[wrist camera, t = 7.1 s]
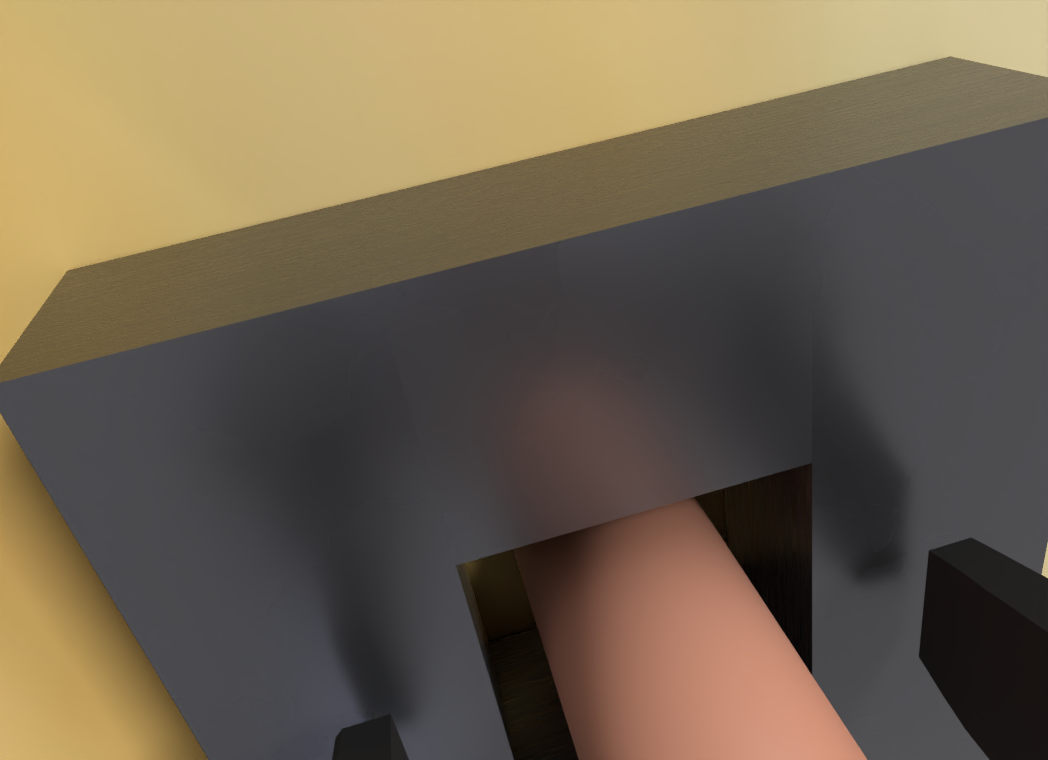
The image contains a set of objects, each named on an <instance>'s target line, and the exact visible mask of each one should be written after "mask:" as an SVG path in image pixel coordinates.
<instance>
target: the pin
mask: <svg viewBox="0 0 1048 760" xmlns="http://www.w3.org/2000/svg"><path fill="white" fill-rule="evenodd" d="M513 551H514V554H515V557H516V560H517V563H518V567H519V570H520V573H521V576H522V579H523V583H524V586H525V589H526V592H527V595H528V599H529V602H530V605H531V608H532V611H533V615H534V618H535V621H536V624H537V627H538V631H539V634H540V637H541V640H542V643H543V647H544V650H545V653H546V656H547V659H548V663H549V666H550V669H551V672H552V675H553V679H554V682H555V685H556V688H557V692H558V695H559V698H560V701H561V704H562V708H563V711H564V714H565V717H566V720H567V724H568V727H569V730H570V733H571V736H572V740H573V743H574V746H575V749H576V752H577V756H578V759H579V760H867V758H866V757H865V755H864V754H863V752H862V751H861V749H860V748H859V746H858V745H857V743H856V742H855V740H854V739H853V737H852V736H851V734H850V732H849V731H848V729H847V728H846V726H845V725H844V723H843V722H842V720H841V719H840V717H839V716H838V714H837V713H836V711H835V710H834V708H833V707H832V705H831V704H830V702H829V700H828V699H827V697H826V696H825V694H824V693H823V691H822V690H821V688H820V687H819V685H818V684H817V682H816V681H815V679H814V678H813V676H812V675H811V673H810V672H809V670H808V668H807V667H806V665H805V664H804V662H803V661H802V659H801V658H800V656H799V655H798V653H797V652H796V650H795V649H794V647H793V646H792V644H791V643H790V641H789V640H788V638H787V636H786V635H785V633H784V632H783V630H782V629H781V627H780V626H779V624H778V623H777V621H776V620H775V618H774V617H773V615H772V614H771V612H770V611H769V609H768V607H767V606H766V604H765V603H764V601H763V600H762V598H761V597H760V595H759V594H758V592H757V591H756V589H755V588H754V586H753V585H752V583H751V582H750V580H749V579H748V577H747V575H746V574H745V572H744V571H743V569H742V568H741V566H740V565H739V563H738V562H737V560H736V559H735V557H734V556H733V554H732V553H731V551H730V550H729V548H728V547H727V545H726V543H725V542H724V540H723V539H722V537H721V536H720V534H719V533H718V531H717V530H716V528H715V527H714V525H713V524H712V522H711V521H710V519H709V518H708V516H707V515H706V513H705V511H704V510H703V508H702V507H701V505H700V504H699V502H698V501H697V499H696V498H695V497H692V498H688V499H685V500H682V501H678V502H675V503H671V504H668V505H664V506H661V507H657V508H654V509H650V510H647V511H643V512H640V513H636V514H633V515H630V516H626V517H623V518H619V519H616V520H612V521H609V522H605V523H602V524H598V525H595V526H591V527H588V528H585V529H581V530H578V531H574V532H571V533H567V534H564V535H560V536H557V537H553V538H550V539H546V540H543V541H539V542H536V543H533V544H529V545H526V546H522V547H519V548H515V549H513Z"/></svg>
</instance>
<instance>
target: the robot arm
mask: <svg viewBox="0 0 1048 760" xmlns="http://www.w3.org/2000/svg"><path fill="white" fill-rule="evenodd" d="M919 658H920V660H921V661H922V663H923V664H924V666H925V668H926V669H927V671H928V672H929V674H930V676H931V677H932V679H933V681H934V682H935V684H936V685H937V687H938V689H939V690H940V692H941V693H942V695H943V697H944V698H945V700H946V701H947V703H948V704H949V706H950V707H951V709H952V710H953V712H954V713H955V715H956V716H957V718H958V719H959V721H960V722H961V724H962V725H963V727H964V728H965V730H966V731H967V732H968V733H969V735H970V736H971V737H972V738H973V740H974V741H975V742H976V744H977V745H978V746H979V747H980V749H981V750H982V751H983V752H984V754H985V755H986V756H987V757H988V758H989V760H1048V578H1046V577H1044V576H1042V575H1041V574H1039V573H1037V572H1035V571H1033V570H1031V569H1030V568H1028V567H1026V566H1024V565H1022V564H1020V563H1019V562H1017V561H1015V560H1013V559H1011V558H1009V557H1008V556H1006V555H1004V554H1002V553H1000V552H998V551H996V550H994V549H993V548H991V547H989V546H987V545H985V544H983V543H981V542H979V541H977V540H975V539H973V538H968V539H964V540H961V541H958V542H955V543H951V544H948V545H945V546H941V547H938V548H935V549H932V550H929V553H928V564H927V574H926V585H925V595H924V606H923V616H922V627H921V637H920V648H919ZM332 760H409V758H408V756H407V753H406V751H405V748H404V746H403V743H402V741H401V738H400V736H399V733H398V731H397V728H396V726H395V723H394V721H393V718H392V716H391V714H389V715H385V716H382V717H379V718H375V719H372V720H369V721H366V722H362V723H359V724H356V725H352V726H349V727H346V728H342V729H341V731H340V732H339V734H338V735H337V736H336V738H335V744H334V750H333V756H332Z"/></svg>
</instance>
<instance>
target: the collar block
mask: <svg viewBox="0 0 1048 760" xmlns="http://www.w3.org/2000/svg"><path fill="white" fill-rule="evenodd" d="M0 413H1V415H2V416H3V418H4V420H5V421H6V423H7V425H8V426H9V428H10V430H11V431H12V433H13V435H14V436H15V438H16V440H17V441H18V443H19V445H20V446H21V448H22V450H23V451H24V453H25V455H26V456H27V458H28V460H29V461H30V463H31V465H32V466H33V468H34V470H35V471H36V473H37V475H38V476H39V478H40V480H41V481H42V483H43V485H44V486H45V488H46V490H47V491H48V493H49V495H50V496H51V498H52V500H53V501H54V503H55V505H56V506H57V508H58V510H59V511H60V513H61V515H62V516H63V518H64V520H65V521H66V523H67V525H68V526H69V528H70V530H71V531H72V533H73V535H74V536H75V538H76V540H77V541H78V543H79V544H80V546H81V548H82V549H83V551H84V553H85V554H86V556H87V558H88V559H89V561H90V563H91V564H92V566H93V568H94V569H95V571H96V573H97V574H98V576H99V578H100V579H101V581H102V583H103V584H104V586H105V588H106V589H107V591H108V593H109V594H110V596H111V598H112V599H113V601H114V603H115V604H116V606H117V608H118V609H119V611H120V613H121V614H122V616H123V618H124V619H125V621H126V623H127V624H128V626H129V628H130V629H131V631H132V633H133V634H134V636H135V638H136V639H137V641H138V643H139V644H140V646H141V648H142V649H143V651H144V653H145V654H146V656H147V658H148V659H149V661H150V663H151V664H152V666H153V668H154V669H155V671H156V673H157V674H158V676H159V678H160V679H161V681H162V683H163V684H164V686H165V688H166V689H167V691H168V693H169V694H170V696H171V698H172V699H173V701H174V703H175V704H176V706H177V708H178V709H179V711H180V713H181V714H182V716H183V718H184V719H185V721H186V723H187V724H188V726H189V728H190V729H191V731H192V732H193V734H194V736H195V737H196V739H197V741H198V742H199V744H200V746H201V747H202V749H203V751H204V752H205V754H206V756H207V757H208V759H209V760H332V756H333V750H334V744H335V738H336V736H337V735H338V734H339V732H340V731H341V729H342V728H346V727H349V726H352V725H356V724H359V723H362V722H366V721H369V720H372V719H375V718H379V717H382V716H385V715H389V714H391V716H392V718H393V721H394V723H395V726H396V728H397V731H398V733H399V736H400V738H401V741H402V743H403V746H404V748H405V751H406V753H407V756H408V758H409V760H579V759H578V756H577V752H576V749H575V746H574V743H573V740H572V736H571V733H570V730H569V727H568V724H567V720H566V717H565V714H564V711H563V708H562V704H561V701H560V698H559V695H558V692H557V688H556V685H555V682H554V679H553V675H552V672H551V669H550V666H549V663H548V659H547V656H546V653H545V650H544V647H543V643H542V640H541V637H540V634H539V631H538V628H535V629H532V630H528V631H525V632H521V633H518V634H515V635H511V636H508V637H505V638H501V639H498V640H495V641H491V642H488V640H487V637H486V633H485V630H484V627H483V623H482V620H481V616H480V613H479V609H478V606H477V602H476V599H475V596H474V592H473V589H472V585H471V582H470V578H469V575H468V571H467V568H466V564H465V563H467V562H470V561H474V560H477V559H481V558H484V557H488V556H491V555H494V554H498V553H501V552H505V551H508V550H512V549H515V548H519V547H522V546H526V545H529V544H533V543H536V542H539V541H543V540H546V539H550V538H553V537H557V536H560V535H564V534H567V533H571V532H574V531H578V530H581V529H585V528H588V527H591V526H595V525H598V524H602V523H605V522H609V521H612V520H616V519H619V518H623V517H626V516H630V515H633V514H636V513H640V512H643V511H647V510H650V509H654V508H657V507H661V506H664V505H668V504H671V503H675V502H678V501H682V500H685V499H688V498H692V497H695V496H699V495H702V494H706V493H709V492H713V491H716V490H720V489H723V488H724V500H725V514H726V528H727V543H728V548H729V550H730V551H731V553H732V554H733V556H734V557H735V559H736V560H737V562H738V563H739V565H740V566H741V568H742V569H743V571H744V572H745V574H746V575H747V577H748V579H749V580H750V582H751V583H752V585H753V586H754V588H755V589H756V591H757V592H758V594H759V595H760V597H761V598H762V600H763V601H764V603H765V604H766V606H767V607H768V609H769V611H770V612H771V614H772V615H773V617H774V618H775V620H776V621H777V623H778V624H779V626H780V627H781V629H782V630H783V632H784V633H785V635H786V636H787V638H788V640H789V641H790V643H791V644H792V646H793V647H794V649H795V650H796V652H797V653H798V655H799V656H800V658H801V659H802V661H803V662H804V664H805V665H806V667H807V668H808V670H809V672H810V673H811V675H812V676H813V678H814V679H815V681H816V682H817V684H818V685H819V687H820V688H821V690H822V691H823V693H824V694H825V696H826V697H827V699H828V700H829V702H830V704H831V705H832V707H833V708H834V710H835V711H836V713H837V714H838V716H839V717H840V719H841V720H842V722H843V723H844V725H845V726H846V728H847V729H848V731H849V732H850V734H851V736H852V737H853V739H854V740H855V742H856V743H857V745H858V746H859V748H860V749H861V751H862V752H863V754H864V755H865V757H866V758H867V760H989V758H988V757H987V756H986V755H985V754H984V752H983V751H982V750H981V749H980V747H979V746H978V745H977V744H976V742H975V741H974V740H973V738H972V737H971V736H970V735H969V733H968V732H967V731H966V730H965V728H964V727H963V725H962V724H961V722H960V721H959V719H958V718H957V716H956V715H955V713H954V712H953V710H952V709H951V707H950V706H949V704H948V703H947V701H946V700H945V698H944V697H943V695H942V693H941V692H940V690H939V689H938V687H937V685H936V684H935V682H934V681H933V679H932V677H931V676H930V674H929V672H928V671H927V669H926V668H925V666H924V664H923V663H922V661H921V660H920V658H919V648H920V637H921V627H922V616H923V606H924V595H925V585H926V574H927V564H928V553H929V550H932V549H935V548H938V547H941V546H945V545H948V544H951V543H955V542H958V541H961V540H964V539H968V538H973V539H975V540H977V541H979V542H981V543H983V544H985V545H987V546H989V547H991V548H993V549H994V550H996V551H998V552H1000V553H1002V554H1004V555H1006V556H1008V557H1009V558H1011V559H1013V560H1015V561H1017V562H1019V563H1020V564H1022V565H1024V566H1026V567H1028V568H1030V569H1031V570H1033V571H1035V572H1037V573H1039V574H1041V573H1042V568H1043V563H1044V558H1045V553H1046V547H1047V542H1048V77H1043V76H1039V75H1034V74H1029V73H1025V72H1020V71H1015V70H1011V69H1006V68H1001V67H997V66H992V65H987V64H983V63H978V62H973V61H969V60H964V59H959V58H955V57H947V58H943V59H939V60H935V61H931V62H927V63H922V64H918V65H914V66H910V67H906V68H902V69H898V70H894V71H889V72H885V73H881V74H877V75H873V76H869V77H865V78H861V79H856V80H852V81H848V82H844V83H840V84H836V85H832V86H828V87H823V88H819V89H815V90H811V91H807V92H803V93H799V94H795V95H790V96H786V97H782V98H778V99H774V100H770V101H766V102H762V103H757V104H753V105H749V106H745V107H741V108H737V109H733V110H729V111H724V112H720V113H716V114H712V115H708V116H704V117H700V118H696V119H691V120H687V121H683V122H679V123H675V124H671V125H667V126H663V127H658V128H654V129H650V130H646V131H642V132H638V133H634V134H630V135H625V136H621V137H617V138H613V139H609V140H605V141H601V142H597V143H592V144H588V145H584V146H580V147H576V148H572V149H568V150H564V151H559V152H555V153H551V154H547V155H543V156H539V157H535V158H531V159H526V160H522V161H518V162H514V163H510V164H506V165H502V166H498V167H493V168H489V169H485V170H481V171H477V172H473V173H469V174H465V175H460V176H456V177H452V178H448V179H444V180H440V181H436V182H432V183H427V184H423V185H419V186H415V187H411V188H407V189H403V190H399V191H395V192H390V193H386V194H382V195H378V196H374V197H370V198H366V199H362V200H357V201H353V202H349V203H345V204H341V205H337V206H333V207H329V208H324V209H320V210H316V211H312V212H308V213H304V214H300V215H296V216H291V217H287V218H283V219H279V220H275V221H271V222H267V223H263V224H258V225H254V226H250V227H246V228H242V229H238V230H234V231H230V232H225V233H221V234H217V235H213V236H209V237H205V238H201V239H197V240H192V241H188V242H184V243H180V244H176V245H172V246H168V247H164V248H159V249H155V250H151V251H147V252H143V253H139V254H135V255H131V256H126V257H122V258H118V259H114V260H110V261H106V262H102V263H98V264H93V265H89V266H85V267H81V268H77V269H73V270H69V271H67V272H66V273H65V275H64V276H63V278H62V279H61V280H60V282H59V283H58V285H57V286H56V287H55V289H54V290H53V292H52V293H51V294H50V296H49V297H48V299H47V300H46V301H45V303H44V304H43V306H42V307H41V308H40V310H39V311H38V313H37V314H36V315H35V317H34V318H33V320H32V321H31V322H30V324H29V325H28V327H27V328H26V329H25V331H24V332H23V333H22V335H21V336H20V338H19V339H18V340H17V342H16V343H15V345H14V346H13V347H12V349H11V350H10V352H9V353H8V354H7V356H6V357H5V359H4V360H3V361H2V363H1V364H0Z"/></svg>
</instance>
